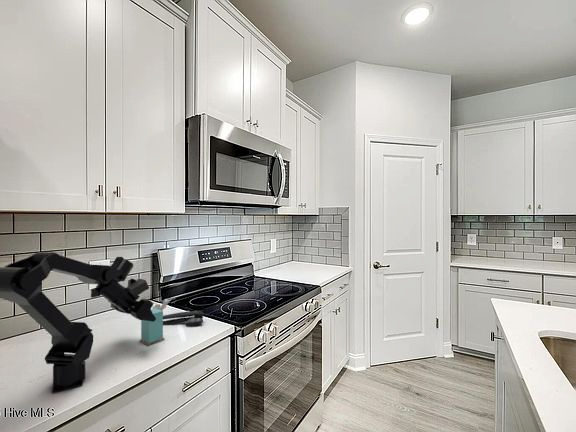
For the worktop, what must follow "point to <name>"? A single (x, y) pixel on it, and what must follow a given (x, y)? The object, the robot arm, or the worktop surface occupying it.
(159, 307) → the light grey forked piece
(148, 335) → the teal rectangular block
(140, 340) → the brown pedestal
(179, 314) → the can opener
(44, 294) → the robot arm
